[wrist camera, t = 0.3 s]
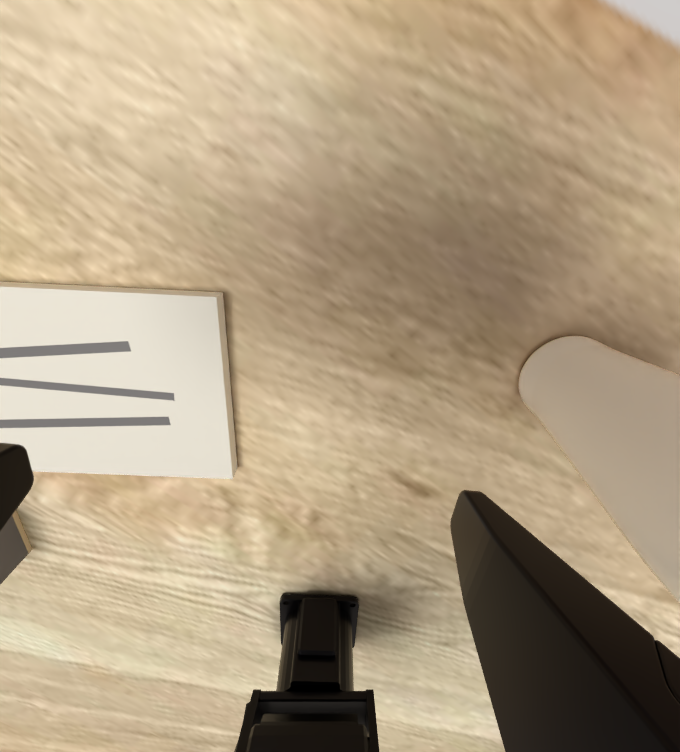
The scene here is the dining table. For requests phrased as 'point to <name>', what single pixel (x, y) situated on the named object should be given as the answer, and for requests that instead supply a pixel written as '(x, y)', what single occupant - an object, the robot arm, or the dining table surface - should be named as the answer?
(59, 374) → the board
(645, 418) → the drinking glass
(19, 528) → the block
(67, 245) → the dining table surface
